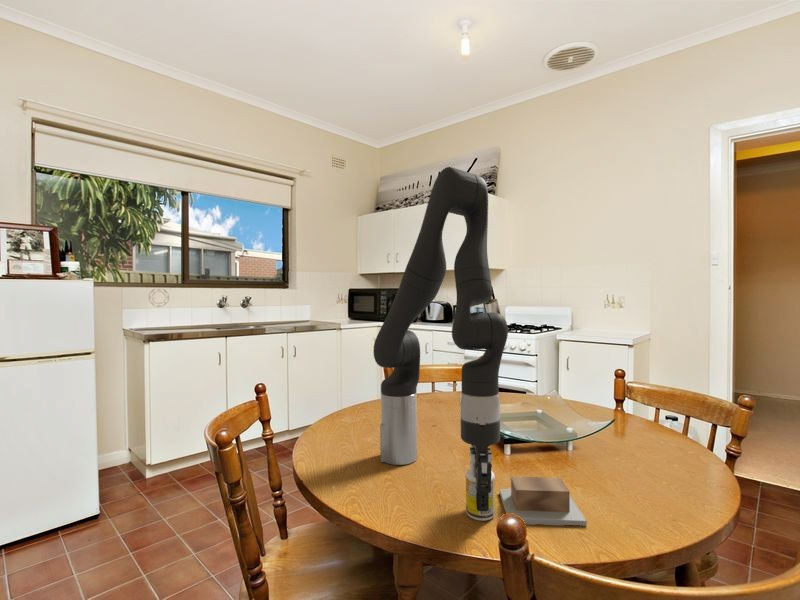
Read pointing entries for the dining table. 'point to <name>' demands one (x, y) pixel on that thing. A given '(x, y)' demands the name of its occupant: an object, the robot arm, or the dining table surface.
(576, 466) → the dining table surface
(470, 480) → the supplement bottle
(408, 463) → the robot arm
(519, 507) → the walnut block
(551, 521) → the slate board
